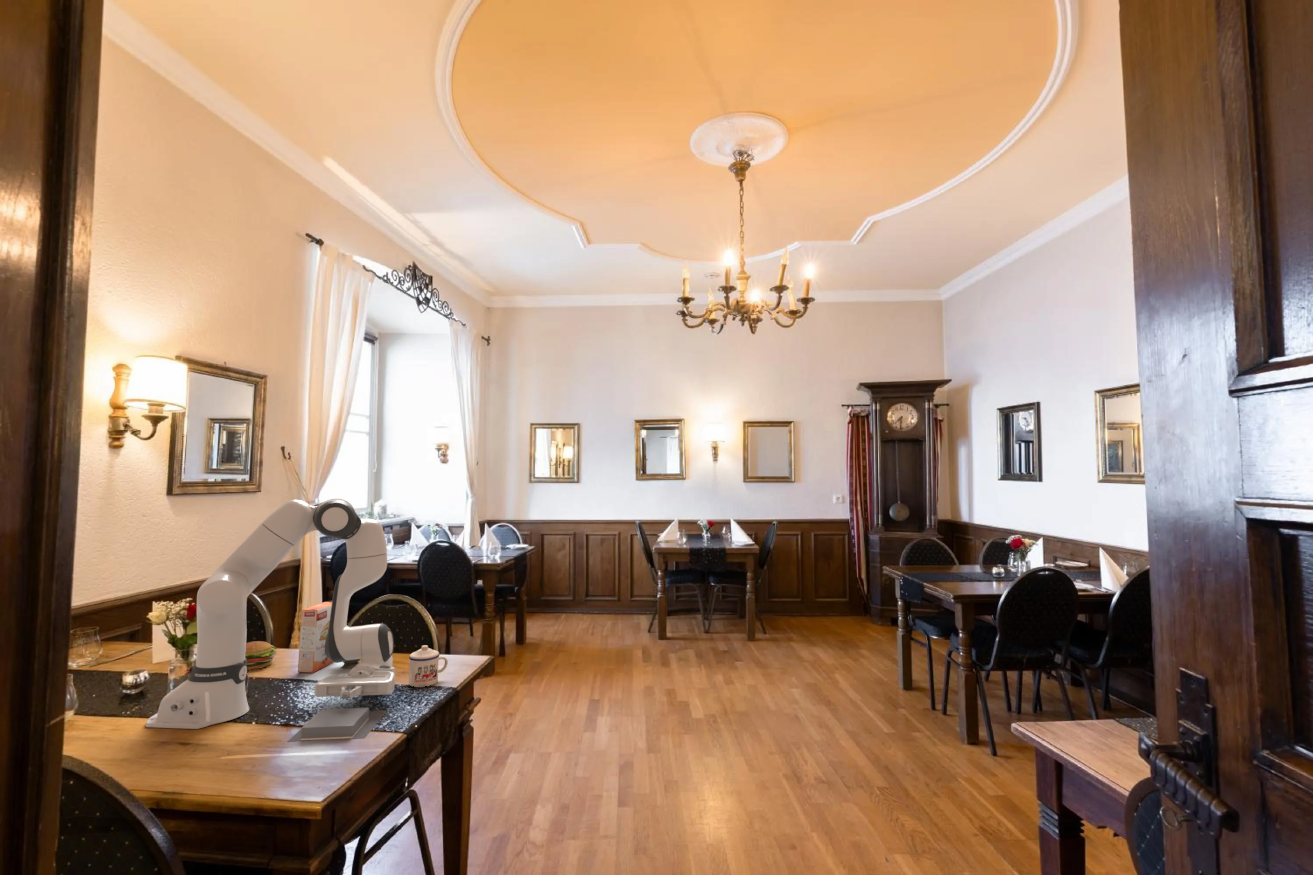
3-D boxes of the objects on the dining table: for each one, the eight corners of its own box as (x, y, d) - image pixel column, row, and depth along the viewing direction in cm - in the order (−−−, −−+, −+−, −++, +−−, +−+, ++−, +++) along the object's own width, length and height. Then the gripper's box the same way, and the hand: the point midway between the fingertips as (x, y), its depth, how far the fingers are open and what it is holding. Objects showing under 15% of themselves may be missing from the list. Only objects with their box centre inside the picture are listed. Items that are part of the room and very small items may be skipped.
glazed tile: (321, 720, 159) (300, 740, 147) (321, 709, 159) (301, 727, 148) (368, 718, 161) (352, 738, 149) (369, 707, 161) (352, 725, 149)
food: (278, 657, 216) (280, 635, 217) (271, 669, 204) (273, 645, 204) (233, 661, 211) (234, 638, 211) (223, 673, 198) (224, 649, 199)
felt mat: (286, 744, 147) (286, 741, 147) (318, 715, 164) (318, 713, 164) (364, 740, 149) (364, 738, 149) (386, 712, 167) (386, 710, 167)
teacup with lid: (412, 689, 185) (414, 651, 186) (404, 681, 192) (406, 644, 193) (451, 682, 192) (452, 645, 193) (442, 674, 199) (443, 639, 200)
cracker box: (314, 673, 199) (318, 609, 201) (296, 673, 199) (300, 609, 201) (337, 660, 213) (340, 601, 215) (320, 660, 213) (323, 600, 215)
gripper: (326, 668, 173) (304, 684, 159) (400, 666, 175) (385, 682, 162) (325, 690, 172) (303, 709, 159) (399, 688, 175) (384, 706, 161)
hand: (345, 695), depth 160 cm, fingers closed
